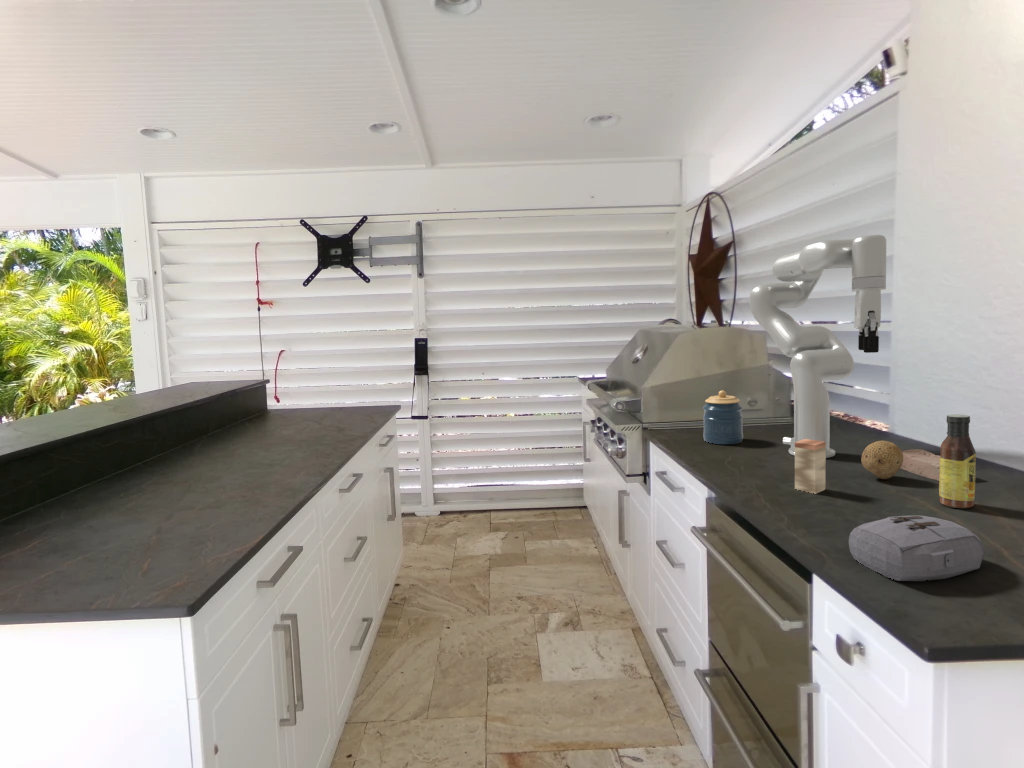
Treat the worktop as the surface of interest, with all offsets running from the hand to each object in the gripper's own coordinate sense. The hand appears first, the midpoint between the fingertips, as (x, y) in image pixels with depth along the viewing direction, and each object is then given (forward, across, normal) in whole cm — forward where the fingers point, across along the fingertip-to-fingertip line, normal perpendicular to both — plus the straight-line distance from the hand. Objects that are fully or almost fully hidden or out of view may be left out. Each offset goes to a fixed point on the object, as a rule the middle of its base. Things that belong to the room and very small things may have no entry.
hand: (868, 351), depth 152 cm
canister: (+32, -33, -39) cm, 60 cm away
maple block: (+32, +19, -15) cm, 40 cm away
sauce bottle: (+33, +24, +14) cm, 43 cm away
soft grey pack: (+33, +60, 0) cm, 68 cm away
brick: (+33, -3, +15) cm, 36 cm away
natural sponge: (+33, +6, +2) cm, 33 cm away
